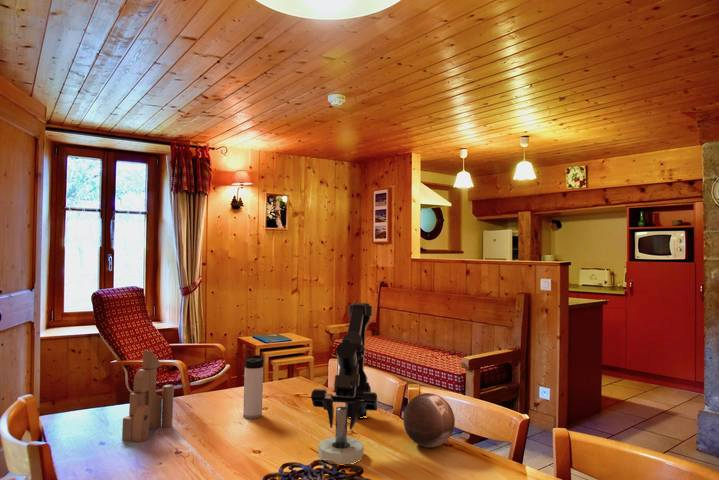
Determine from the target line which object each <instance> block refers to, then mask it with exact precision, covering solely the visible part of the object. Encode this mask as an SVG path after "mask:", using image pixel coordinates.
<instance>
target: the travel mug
mask: <svg viewBox="0 0 719 480" xmlns="http://www.w3.org/2000/svg"><path fill="white" fill-rule="evenodd" d="M244 359H245V360H244V377H243V378H244V384H243V412H242V413H243V414H242V417H243V418H245V419H247V420H255V419H259V418H261V417H262V416H263V393H264V357H263V356H260V355H259V354H254V355H251V356H247V357H245V358H244Z"/></svg>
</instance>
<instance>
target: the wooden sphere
mask: <svg viewBox="0 0 719 480" xmlns="http://www.w3.org/2000/svg"><path fill="white" fill-rule="evenodd" d="M402 422H403V427H404V430H405V432H406V434H407V436H408V437H409V438H410V440H412V441H413V442H414V443H415V444H416V445H418V446H421V447H423V446H424V448H430V447H431V448H437V447H440V446H441V445H443V444H445V443H446V442H447V441H449V439H450V438H451V436H452V434H453V433H454V430H455V422H456V419H455V413H454V411H453V409H452V406H451V405H450V404H449V402H448V401H447V400H446V399H444V398H443V397H442V396H440V395H438V394H436V393H431V392H427V393H426V392H425V393H420V394H418V395H416V396H414V397H413V398H412V399H411V400H409V402H408V403H407V404H406V406H405V408H404V412H403V419H402Z"/></svg>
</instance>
